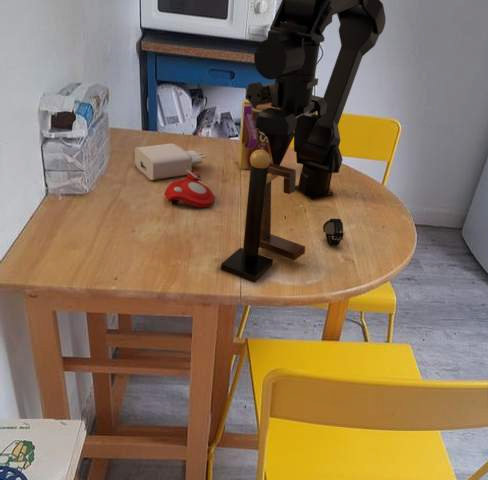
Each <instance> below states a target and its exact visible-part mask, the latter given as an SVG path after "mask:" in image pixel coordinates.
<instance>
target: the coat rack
mask: <svg viewBox="0 0 488 480" xmlns="http://www.w3.org/2000/svg"><path fill="white" fill-rule="evenodd" d="M250 163H251V169H249V170H250V171H249V180H248V190H247V191H248V192H247V202H246V211H245V212H246V213H245V224H244V234H243V235H244V236H243V245H242V247H239V248H238V249H237V250H236V251H234V252H233V253H232V254H231V255H230V256H228V257H227V258H226V259H225V260H224V261H223V262H221V264H220V271H223V272H226V273H228V274H230V275H233V276H236V277H239V278H241V279H244V280H247V281H249V282H252V283H256V282H257V281H258V280H259V279H260V278H261V277H262V276H263V275H264V274H265V273H266V272H267V271H268V270H269V269H270V268H271V267H272V266H273V263H274V259H273V258H270V257H268V256H265V255H262V254H260V248H259V244H260V235H261V227H262V218H263V209H264V200H265V191H266V184H268V183H269V182H270V181H271V182H272V181H273V180H275V179H276V178H277V177H280V176H279V175H275V174H272V173H269V174H268V166H269V164H270V156H269V154H268V153H267V152H266V151H264V150H256V151H254V152H253V153H252V155H251V157H250Z"/></svg>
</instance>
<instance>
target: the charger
mask: <svg viewBox="0 0 488 480" xmlns="http://www.w3.org/2000/svg"><path fill="white" fill-rule="evenodd" d="M203 154H204V153H203V152H197V151H196V150H194V149H191V150H185V149H184V148H182V147H180V146H179V145H177V144H175V143H164V144H163V143H162V144H156V145H147V146H139V147H134V160H135V161H134V163H135V166H136V168H137V170H139V171H140V172H141V173H142V174H143V175H145V176H146V177H147V178H148V179H149V180H150V181H155V180H162V179H167V178H175V177H180V176H187V174H188V172H187V171H186V170H189V171H192V167H193V166H192V165H195V164H201V163H202V162H203V159H202V158H207V155H206V154H205V155H203Z"/></svg>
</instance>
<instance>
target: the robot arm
mask: <svg viewBox="0 0 488 480" xmlns="http://www.w3.org/2000/svg"><path fill="white" fill-rule="evenodd" d="M334 15H337V18H338V22H339V27H338V35H339V41H340V49H339V51H338V55H337V58H336V60H335V63H334V66H333V69H332V72H331V74H330V77H329V80H328V83H327V85H326V88H325V91H324V95H323V97H322V96H319V95H314V94H313V91H314V87H315V86H318V83H319V78H318V77H317V78H316V73H317V65H318V58H319V52H320V45H321V43H324V42H325V35H324V34H323V33H324V31H325V30H326V28H327V27H329V26H330V25H331V24H332V22H333V18H334V17H333V16H334ZM386 20H387V19H386V13H385V7H384V4H383V2H382V1H381V0H281V2H280V4H279V5H278V7H277V11H276V13H275V16H274V18H273V20H272V22H271V25H270V26H269V30H268V31H267V38H265V39H264V40H262V41H261V42H260V43H259V44H258V45H257V47H256V49H255V51H254V55H253V56H254V57H253V61H254V66H255V69H256V70H257V72H258V74H259V75H260V76H261V77H263V78H264V79H266V80H274V82H268V83H263V84H262V81H256V82H250V83H248V85H247V89H246V94H245V100H248V101H249V102H250V103H251V105H252V107H256V106H258V105H262V104H268V103H271V107H275V108H280V110H278V109H274V108H267V109H265V110H263V111H261V112H259V113H258V114H257V115H256V116H255V125H254V127H255V128H257V129H258V130H259V131H260V132H263V133H264V134H265V135H266V137H267V138H268V141H269V145H270V150H271V155H272V160H273V164H275V165H279V166H281V164H282V162H283V159H284V158H285V156H286V153H287V152H288V149H289V148H290V145H291V143H292V141H293V151H294V152H295V155H296V156H295V159H296V164H298V165H302V167H301V168H302V169H301V172H300V174H299V179H298V180H299V181H298V185H295V191H298V192H299V193H301V194H302V195H303V196H305V197H307V199H310V200H318V199H322V198H327V197H331V196H334V192H333V191H332V190H330V187H331V181H332V177H333V174H338V173H339V172H340V169H341V167H342V164H343V163H342V162H343V156H342V153H341V150H340V143H341V135H340V131H339V130H340V129H339V124H340V121H341V118H342V115H343V112H344V109H345V108H346V107H345V106H346V104H347V101H348V98H349V96H350V93H351V90H352V88H353V84H354V82H355V79H356V76H357V73H358V70H359V68H360V65H361V62H362V59H363V57H364V56H365V55H366V54H367V53H368V52H370V50H372V49H373V48H374V47H375V46H376V45H377V42H378V39H379V38H380V35H382V33H384V29H385V26H386V22H387V21H386Z"/></svg>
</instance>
